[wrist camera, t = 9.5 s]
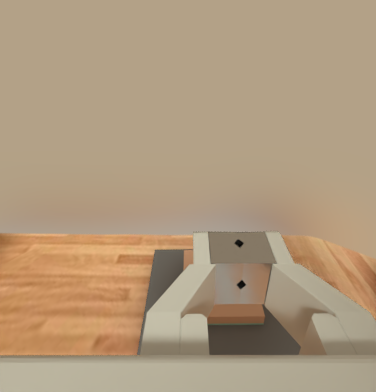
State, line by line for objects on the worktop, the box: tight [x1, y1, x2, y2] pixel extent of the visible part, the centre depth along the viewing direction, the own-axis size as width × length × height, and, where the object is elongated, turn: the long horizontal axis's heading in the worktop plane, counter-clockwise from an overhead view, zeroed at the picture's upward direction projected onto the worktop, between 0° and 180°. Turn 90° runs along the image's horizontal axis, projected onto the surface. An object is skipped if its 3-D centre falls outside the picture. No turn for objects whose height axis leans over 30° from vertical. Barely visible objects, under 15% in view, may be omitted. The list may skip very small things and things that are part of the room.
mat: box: [137, 249, 301, 355], centre depth 37 cm, size 20×18×1 cm
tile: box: [183, 250, 265, 325], centre depth 38 cm, size 10×2×12 cm
